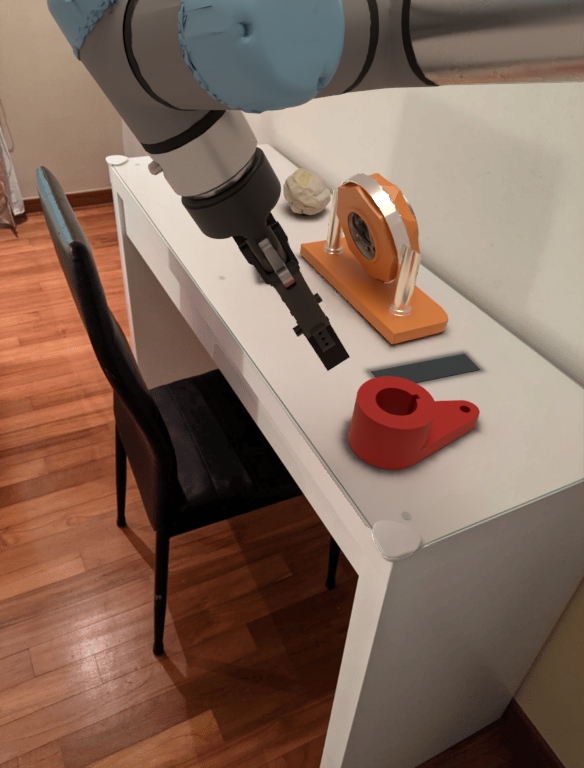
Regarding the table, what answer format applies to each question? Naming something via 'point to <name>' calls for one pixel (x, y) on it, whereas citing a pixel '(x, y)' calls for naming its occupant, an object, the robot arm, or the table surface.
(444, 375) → the strip
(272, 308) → the table surface
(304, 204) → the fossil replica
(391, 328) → the desk clock
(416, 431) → the lever
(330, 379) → the table surface
